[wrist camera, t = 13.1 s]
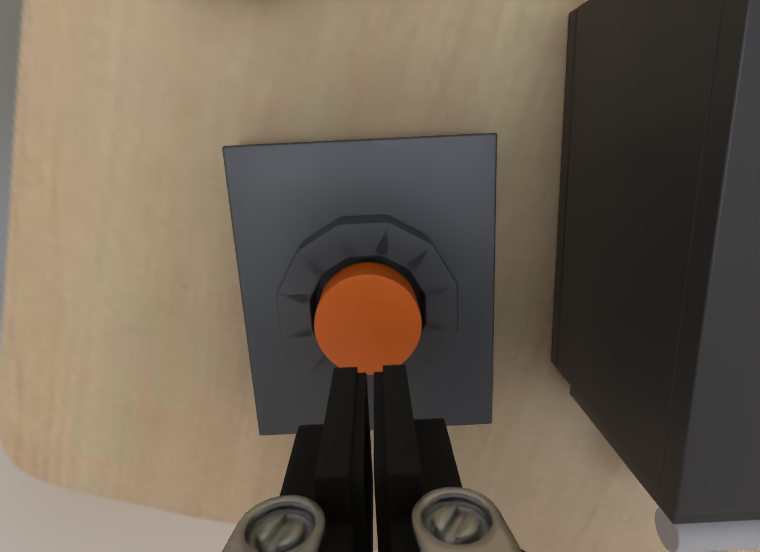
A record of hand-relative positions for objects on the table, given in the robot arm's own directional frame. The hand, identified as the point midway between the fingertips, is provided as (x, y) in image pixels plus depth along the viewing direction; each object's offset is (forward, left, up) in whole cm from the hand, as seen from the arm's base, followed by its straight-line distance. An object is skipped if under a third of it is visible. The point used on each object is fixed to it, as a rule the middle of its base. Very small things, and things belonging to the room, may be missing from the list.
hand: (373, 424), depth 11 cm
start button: (0, 0, -7) cm, 7 cm away
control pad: (0, 0, -11) cm, 11 cm away
